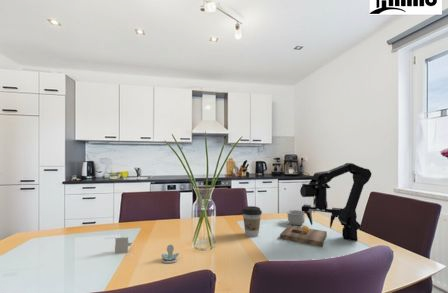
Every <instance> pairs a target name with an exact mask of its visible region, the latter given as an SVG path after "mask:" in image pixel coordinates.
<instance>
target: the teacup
mask: <svg viewBox="0 0 448 293" xmlns="http://www.w3.org/2000/svg"><path fill="white" fill-rule="evenodd" d="M286 213H287V221H288V222H289V224H291V226H297V227H301V226H303V224H304V223H305V221H306V220H305V217H306V215H305V214H306V213H304V211H302V210H299V209H297V210H296V209H289V210H287V212H286Z"/></svg>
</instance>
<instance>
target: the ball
mask: <svg viewBox="0 0 448 293" xmlns="http://www.w3.org/2000/svg"><path fill="white" fill-rule="evenodd" d="M301 227H302V231H303V232H304V233H308V232H309V229H310V227H309V226H308V225H305V224H304V225H302V226H301Z"/></svg>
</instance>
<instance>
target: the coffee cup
mask: <svg viewBox="0 0 448 293" xmlns="http://www.w3.org/2000/svg"><path fill="white" fill-rule="evenodd" d="M241 213H242V217H243V226H244V232H245V236H246V237H248V236H249V238H257V237H258V236H259V234H260V225H261V220H262V219H261V218H262V217H261V216H262V214H263V211H262V210H261V208H260V207H259V206H252V205H251V206H250V205H249V206H248V205H247V206H245V207H243V209H242V210H241Z"/></svg>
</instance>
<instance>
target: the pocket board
mask: <svg viewBox="0 0 448 293" xmlns="http://www.w3.org/2000/svg"><path fill="white" fill-rule="evenodd" d="M302 227H303V226H295V225H289V224H288V225H287V226H286V228H285V229H284V230H283V231H281V233H280V234H279V239H280V240H284V241H289V242H293V243H299V244H304V245H307V246H308V245H309V246H313V247H319V248H323V247H324V244H325V242H326V238H327V236H328V235H327V234H328V231H326V230H322V229H321V230H320V229H315V228H314V229H313V228H309V232H308V233H304V232H303V231H302Z"/></svg>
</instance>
